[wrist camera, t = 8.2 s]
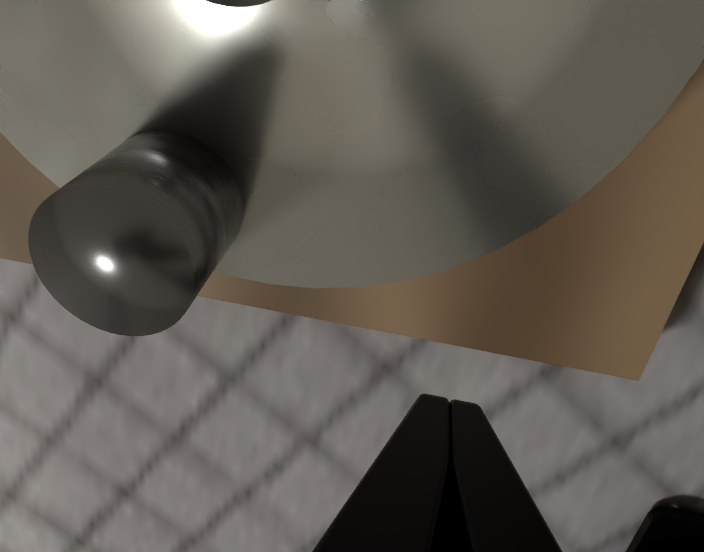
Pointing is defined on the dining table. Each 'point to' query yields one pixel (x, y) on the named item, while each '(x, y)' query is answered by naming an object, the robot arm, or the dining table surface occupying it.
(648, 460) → the dining table surface
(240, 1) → the post
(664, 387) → the dining table surface
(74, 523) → the dining table surface
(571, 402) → the dining table surface
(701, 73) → the base board
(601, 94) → the flange plate
